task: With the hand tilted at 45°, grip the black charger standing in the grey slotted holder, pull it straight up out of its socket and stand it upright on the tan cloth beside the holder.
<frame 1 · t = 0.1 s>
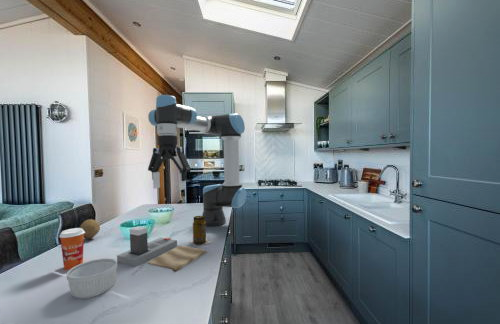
hand: (169, 188, 96), 28 cm above the worktop, tool pointing down, fingers open, 13 cm apart
natural sponge: (90, 239, 122), on the worktop
ramekin: (93, 289, 75), on the worktop
tan cloth: (178, 258, 97), on the worktop
condiment: (200, 242, 114), on the worktop
paper cup: (73, 268, 90), on the worktop
charger: (139, 257, 96), resting on grey slotted holder
grey slotted holder: (149, 254, 101), on the worktop
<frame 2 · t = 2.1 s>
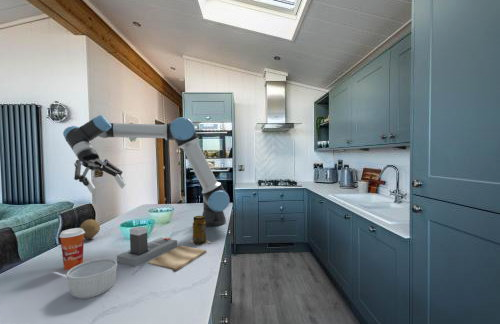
hand: (109, 188, 103), 28 cm above the worktop, tool tilted 45°, fingers open, 13 cm apart
nothing on the worktop moved.
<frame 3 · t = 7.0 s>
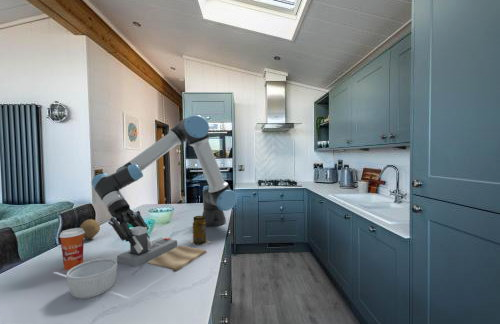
hand: (145, 248, 95), 5 cm above the worktop, tool tilted 45°, fingers closed on charger, 4 cm apart
charger: (139, 257, 96), point 1 cm above the worktop, touching gripper, grey slotted holder
everything else where it was.
when the fingers open (7 cm above the worktop, at t = 13.2 s): charger drops 1 cm, resting on tan cloth.
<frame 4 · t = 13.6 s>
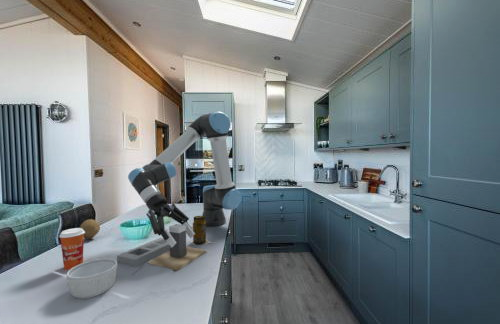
hand: (183, 240, 95), 8 cm above the worktop, tool tilted 45°, fingers open, 10 cm apart
charger: (178, 255, 97), point 1 cm above the worktop, touching tan cloth
everything else where it was.
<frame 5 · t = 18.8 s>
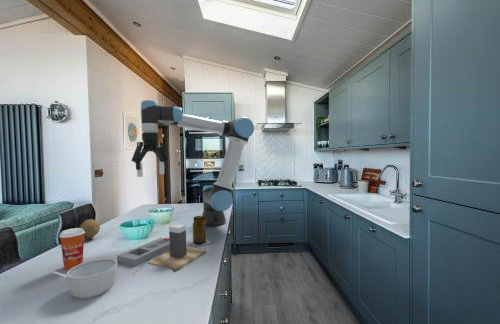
hand: (151, 175, 120), 32 cm above the worktop, tool pointing down, fingers open, 13 cm apart
nothing on the worktop moved.
at the end: charger inside the target area on the tan cloth (0.1 cm from its centre), point 1.0 cm above the tan cloth's base; charger tilted 0°; the gripper is holding nothing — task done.
